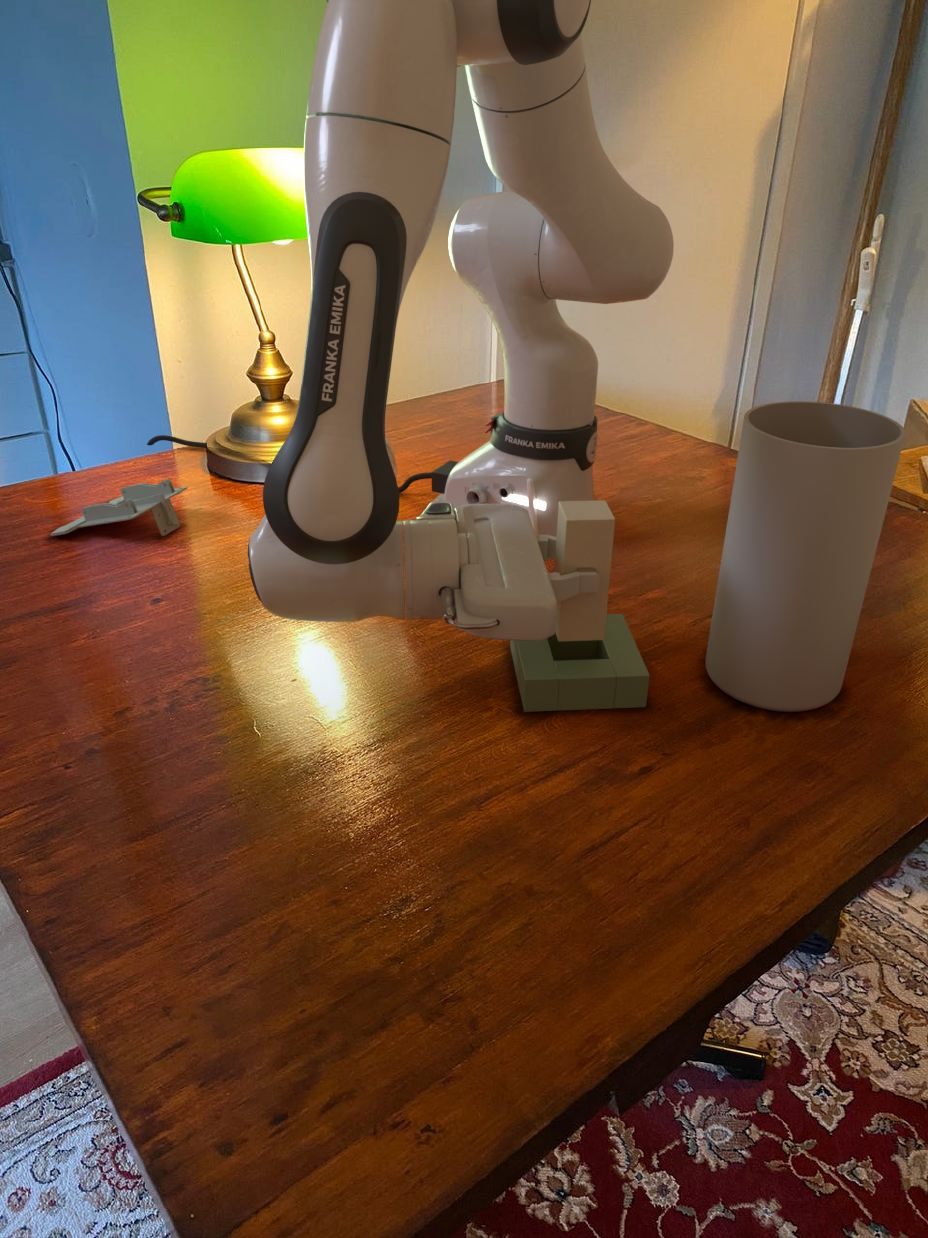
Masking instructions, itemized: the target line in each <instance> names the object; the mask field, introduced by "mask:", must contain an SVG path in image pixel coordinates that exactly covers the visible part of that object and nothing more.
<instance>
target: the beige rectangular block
mask: <svg viewBox="0 0 928 1238" xmlns="http://www.w3.org/2000/svg"><path fill="white" fill-rule="evenodd" d="M615 527H616V518H615V516H614V514H613V513H612V510H611V508H610V507H609V505H608V503H607V501H606V500H605V499H604V500H602V499H601V500H595V501H559V505H558V521H557V538H556V554H555V559H554V570H553V573H560V576H562V575H566V574H570V573H574V572H577V568H589V567H593V568H595V569H596V570H597V572H598V574H599V577H600V585H599V590H598V591H597V592H595V593H579V594H577V595H575V596H573V597H570V598H568V599H566V600H563V601H557V621H556V631H555V632H556V635H557V638H558V641H590V640H604V633H605V622H606V614H607V611H608V601H609V591H610V590H609V589H610V580H611V571H612V559H613V558H612V557H613V550H614V549H613V548H614V537H615V529H616V528H615Z"/></svg>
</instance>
